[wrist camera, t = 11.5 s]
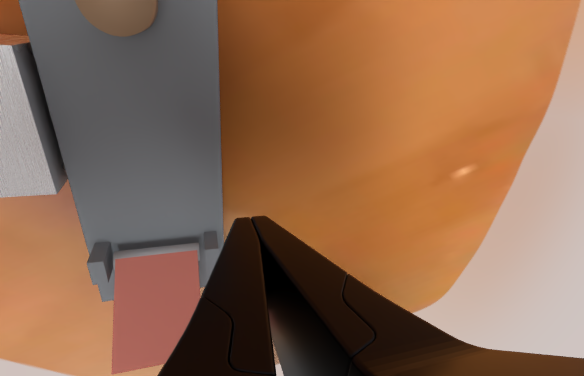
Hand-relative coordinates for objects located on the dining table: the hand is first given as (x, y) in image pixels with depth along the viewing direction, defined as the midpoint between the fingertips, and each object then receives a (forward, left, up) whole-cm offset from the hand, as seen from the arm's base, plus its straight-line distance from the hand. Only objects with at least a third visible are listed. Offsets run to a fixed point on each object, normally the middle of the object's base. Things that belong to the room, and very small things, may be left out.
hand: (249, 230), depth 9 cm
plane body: (-1, +4, -12) cm, 12 cm away
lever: (-6, +4, -7) cm, 11 cm away
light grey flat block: (+1, +7, -10) cm, 12 cm away
